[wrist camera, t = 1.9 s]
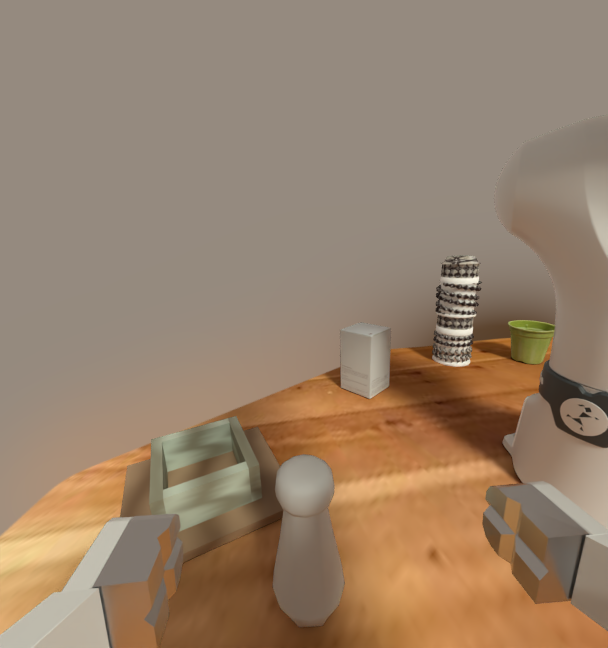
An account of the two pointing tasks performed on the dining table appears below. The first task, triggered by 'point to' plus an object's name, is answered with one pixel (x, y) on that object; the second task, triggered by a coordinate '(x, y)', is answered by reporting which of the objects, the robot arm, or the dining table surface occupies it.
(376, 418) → the dining table surface
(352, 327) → the supplement box
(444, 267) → the decorative candle
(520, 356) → the plant pot
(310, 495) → the salt shaker
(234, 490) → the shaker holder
